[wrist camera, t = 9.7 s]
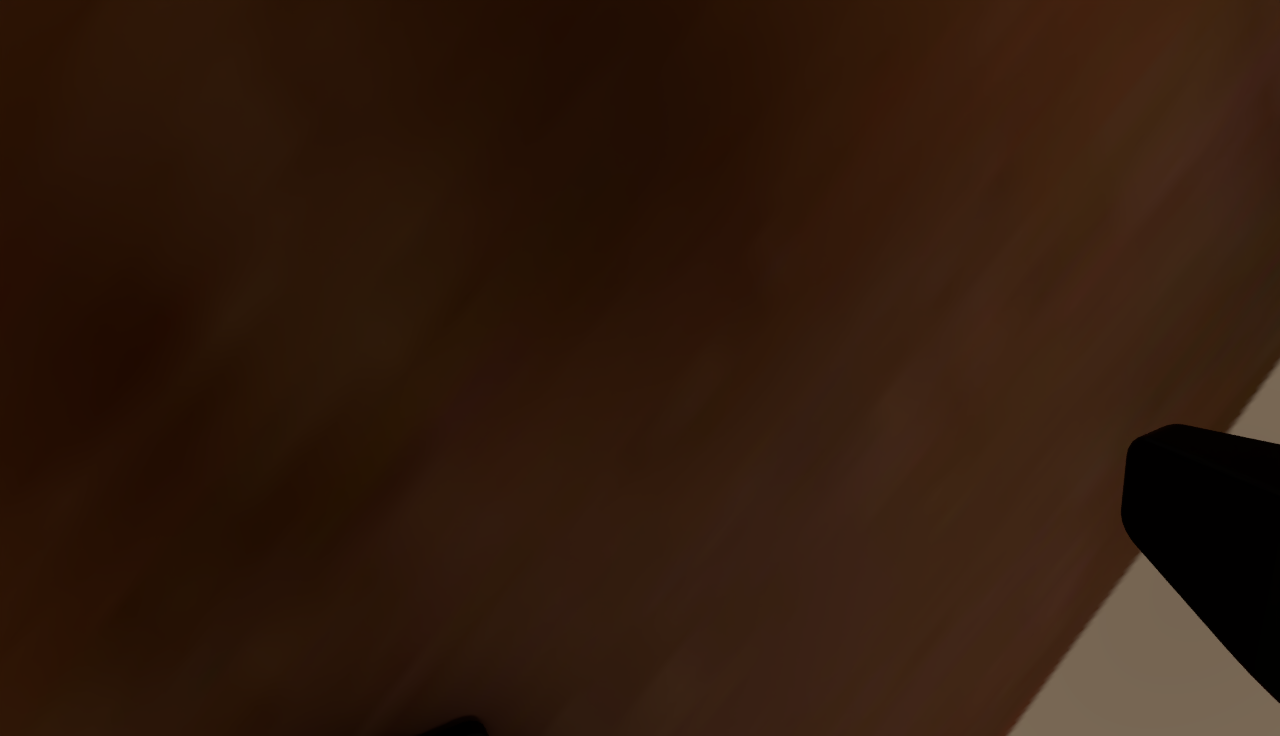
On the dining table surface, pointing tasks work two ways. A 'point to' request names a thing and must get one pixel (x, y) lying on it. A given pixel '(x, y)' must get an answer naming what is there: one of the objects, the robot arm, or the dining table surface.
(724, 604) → the dining table surface
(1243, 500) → the robot arm
